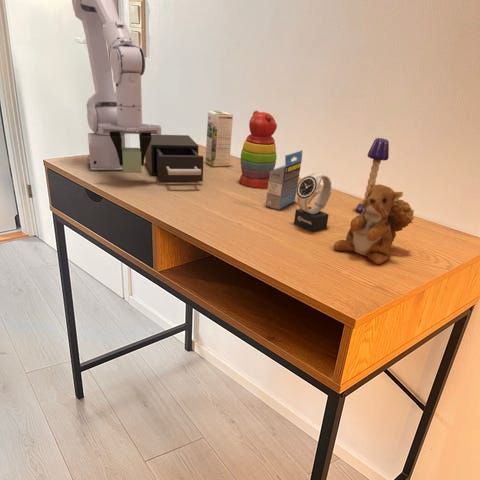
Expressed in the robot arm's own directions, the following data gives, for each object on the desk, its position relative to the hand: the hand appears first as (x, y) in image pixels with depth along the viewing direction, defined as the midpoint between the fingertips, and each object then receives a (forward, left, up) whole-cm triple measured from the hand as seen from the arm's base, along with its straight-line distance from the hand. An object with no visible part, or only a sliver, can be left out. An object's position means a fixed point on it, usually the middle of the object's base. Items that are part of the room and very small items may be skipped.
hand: (131, 164), depth 121 cm
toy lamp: (+52, -26, -5) cm, 58 cm away
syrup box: (+27, +19, -5) cm, 33 cm away
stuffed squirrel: (+41, -48, -5) cm, 63 cm away
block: (0, 0, -1) cm, 1 cm away
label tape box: (+33, -19, -5) cm, 38 cm away
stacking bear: (+33, -1, -5) cm, 33 cm away
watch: (+34, -34, -5) cm, 48 cm away
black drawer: (+12, +1, -4) cm, 13 cm away
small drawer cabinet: (+12, +13, -4) cm, 18 cm away
